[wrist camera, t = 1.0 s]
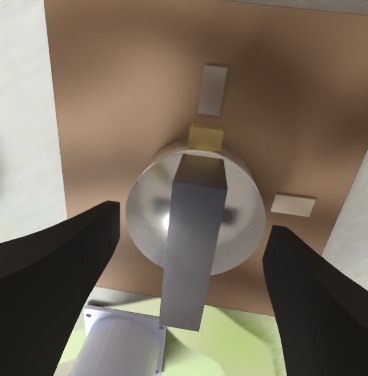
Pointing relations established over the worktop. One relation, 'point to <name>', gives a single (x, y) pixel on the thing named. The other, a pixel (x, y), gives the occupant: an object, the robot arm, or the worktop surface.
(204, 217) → the silver rounded piece
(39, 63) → the worktop surface
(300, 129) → the baseplate
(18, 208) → the worktop surface
